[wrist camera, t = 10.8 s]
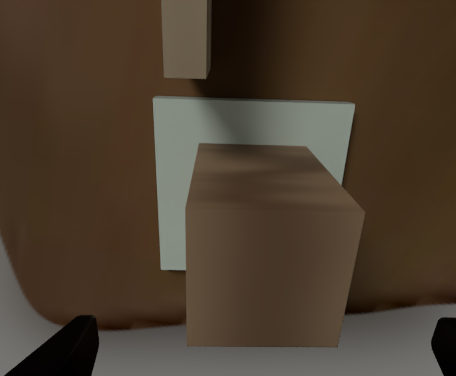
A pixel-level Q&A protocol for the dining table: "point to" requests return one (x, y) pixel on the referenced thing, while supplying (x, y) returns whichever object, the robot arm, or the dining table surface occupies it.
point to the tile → (234, 134)
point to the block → (267, 248)
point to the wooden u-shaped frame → (186, 38)
